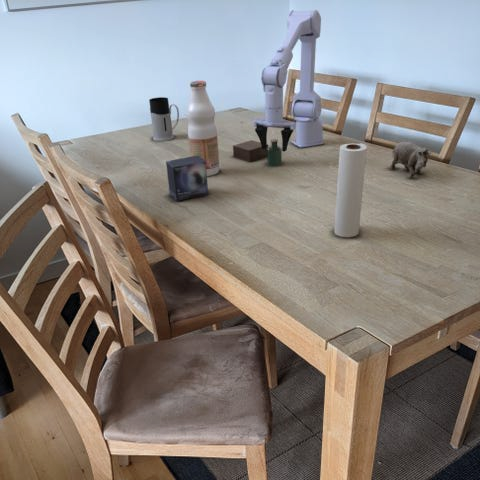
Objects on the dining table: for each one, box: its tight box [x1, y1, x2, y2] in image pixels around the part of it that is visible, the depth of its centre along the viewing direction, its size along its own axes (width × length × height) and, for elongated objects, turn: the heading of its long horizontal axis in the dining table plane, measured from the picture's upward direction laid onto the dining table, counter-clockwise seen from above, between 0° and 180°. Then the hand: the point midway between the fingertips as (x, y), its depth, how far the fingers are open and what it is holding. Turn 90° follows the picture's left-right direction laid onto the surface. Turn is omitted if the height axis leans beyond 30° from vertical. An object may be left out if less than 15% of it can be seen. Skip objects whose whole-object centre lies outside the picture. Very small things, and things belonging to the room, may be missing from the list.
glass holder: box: [148, 96, 180, 142], centre depth 203 cm, size 9×14×15 cm, turn 54°
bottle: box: [266, 138, 283, 167], centre depth 172 cm, size 5×5×8 cm
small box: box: [165, 155, 209, 202], centre depth 150 cm, size 11×6×10 cm, turn 117°
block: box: [232, 139, 269, 163], centre depth 181 cm, size 9×9×4 cm
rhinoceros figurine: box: [389, 140, 432, 180], centre depth 157 cm, size 8×14×15 cm
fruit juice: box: [185, 80, 220, 177], centre depth 162 cm, size 9×9×28 cm
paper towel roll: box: [333, 142, 368, 238], centre depth 120 cm, size 7×6×21 cm
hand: (274, 149), depth 171 cm, fingers open, 7 cm apart
